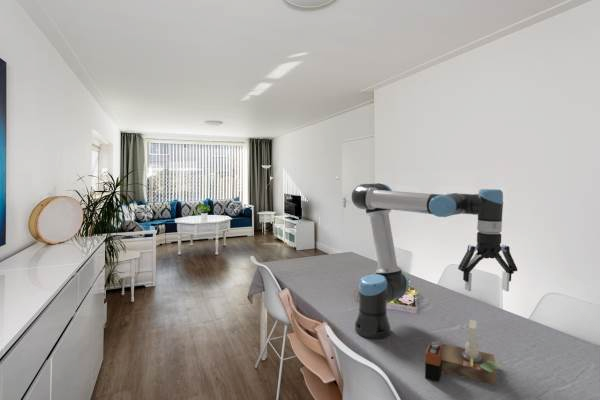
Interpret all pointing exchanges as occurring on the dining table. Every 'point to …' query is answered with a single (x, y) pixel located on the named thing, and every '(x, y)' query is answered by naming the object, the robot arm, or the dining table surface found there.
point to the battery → (433, 362)
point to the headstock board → (468, 364)
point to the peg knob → (472, 346)
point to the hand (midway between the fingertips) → (486, 290)
